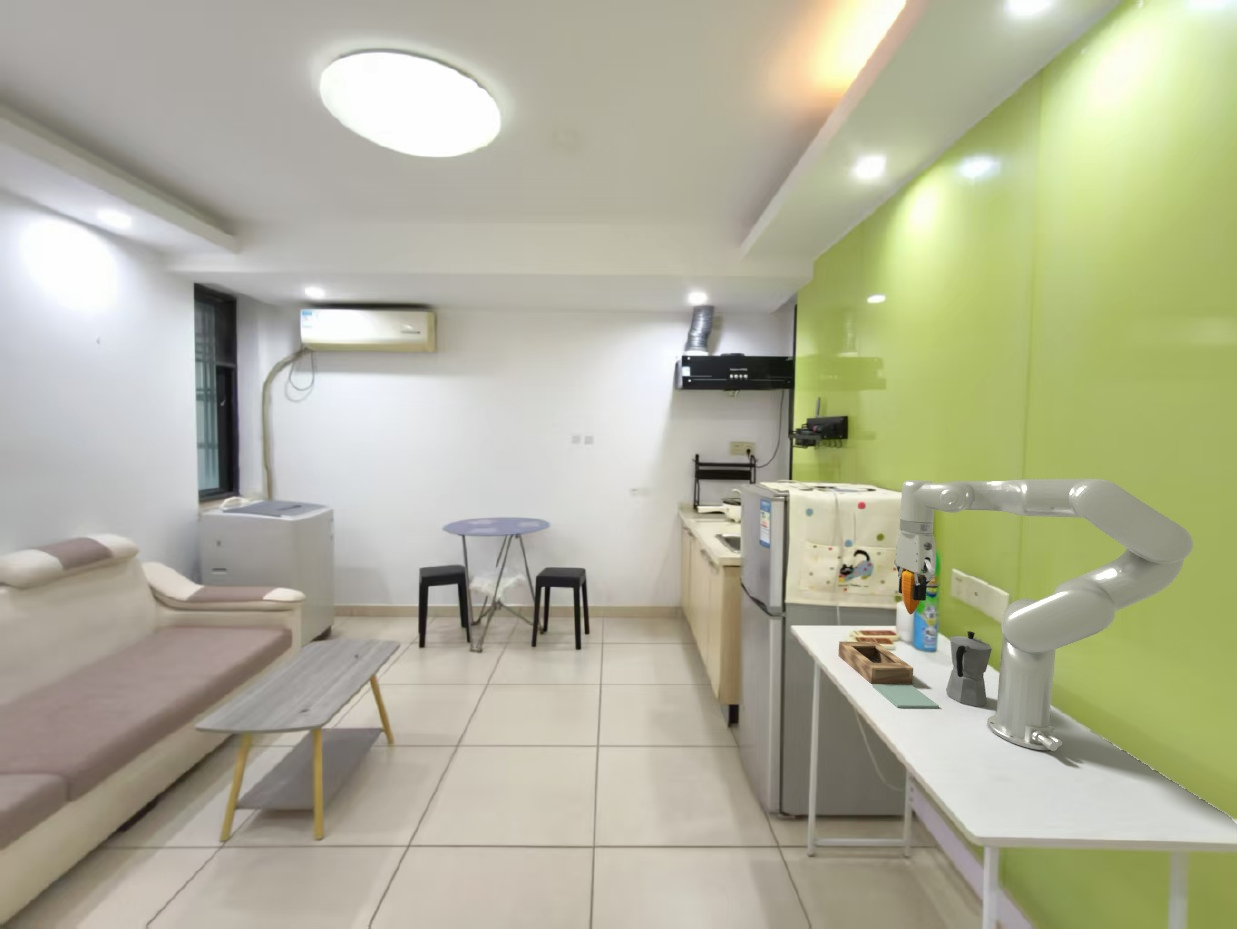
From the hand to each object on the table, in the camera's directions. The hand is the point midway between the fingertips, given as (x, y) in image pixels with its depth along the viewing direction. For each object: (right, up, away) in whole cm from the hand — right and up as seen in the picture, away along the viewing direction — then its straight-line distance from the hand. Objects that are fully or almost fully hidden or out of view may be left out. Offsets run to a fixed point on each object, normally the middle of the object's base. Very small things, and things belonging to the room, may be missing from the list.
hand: (911, 595), depth 131 cm
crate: (-1, -26, +17) cm, 31 cm away
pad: (-1, -27, +1) cm, 27 cm away
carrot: (0, -5, 0) cm, 5 cm away
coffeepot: (+15, -28, +1) cm, 32 cm away
